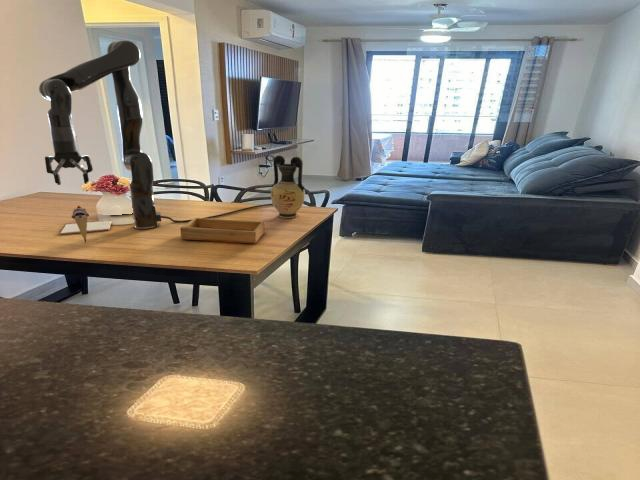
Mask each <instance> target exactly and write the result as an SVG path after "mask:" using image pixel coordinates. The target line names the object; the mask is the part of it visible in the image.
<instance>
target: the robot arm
mask: <svg viewBox="0 0 640 480" xmlns="http://www.w3.org/2000/svg"><path fill="white" fill-rule="evenodd" d="M106 50H107V51H106V54H104V55H102V56H98V57H95V58H93V59H90V60H87V61H84V62H81V63H79V64H77V65H75V66H73V67H71V68H70V69H67V70H66V71H64V72H62V73H59V74H56V75H53V76H51V77H48V78H46V79H44V80H42V81H41V83H40V84H39V87H38V91H39V94H40V95H41V97H42V98H44V99H46V100H47V101H49V102H50V108H49V109H48V110H47V118H48V123H49V129H50V130H49V131H50V137H51V141H52V142H51V143H52V147H53V152H54V156H51V155H47V156H45V157H44V162H45V169H46V173H47V174H51V175H53V178H54V179H53V180H54V183H55V184H57V186H60V185H62V182H61V176H60V173H59V172H60V171H61V170H62V169H63V168H64V169H69V168H71V169H74V168H76V169H78V170H79V171H80V172H82V177H83V183H84V184H85V185H87V184H88V183H89V181H90V178H89V173H92V172H93V170H94V169H93V164H92V160H91V156H90V155H89V154H87V155H81V154H80V151H79V150H80V149H79V144H78V136H77V134H76V130H75V126H74V122H73V116H72V110H73V109H72V108H73V107H72V106H73V94H72V93H73V92H78V91H81V90H83V89H85V88H87V87H89V86H91V85H93V84H94V83H96V82H98V81H100V80H101V79H103V78H106V77H107V76H109V75H112V81H113V87H114V93H115V99H116V100H115V101H116V110H117V117H118V122H119V130H120V135H121V136H120V137H121V144H122V145H121V149H122V155H121V156H122V163H123V166H124V168H125V169H126V170H127V171H129V172H130V175H131V181H130V182H129V183H128V187H129V194H130V199H131V201H130V202H132V208H133V214H132V220H133V221H134V223H133V224H134V229H137V230H149V229H154V228H158V227H159V226H158V222H162V219H167V220H170V221H171V222H174V223H188V222H190V221H191V220H193V219H194V218H193V219H192V218H191V219H186V220H185V219H183V220H177V219H173V218H172V217H170V216H165V215H161V212H157V211H156V209H157V208H156V203H155V196H154V195H155V194H154V185H153V184H154V180H155V179H154V178H155V177H154V165H153V161H152V158H151V156H150V155H149V154H147V152H143V151H142V147H141V141H140V140H141V132H142V127H143V122H144V113H143V105H142V100H141V98H140V96H139V94H138V92H137V90H136V89H135V87H134V85H133V82H132V79H131V70H130V67H134V66H136V65H138V64H139V62H140V61H141V58H142V57H141V54H142V53H141V50H140V48H139V47H138V45H137V44H136V43H135V42H133V41H131V40H127V39H123V40H122V39H121V40H115V41H112V42H110V43H109V44H108V46H107V49H106ZM82 160H83V162H86V167H87V168H86V167H85V166H84V165H82V163H81V161H82ZM54 161H55V162H56V163H57V166H56V167H55V169H53V167H52V163H53V162H54ZM267 206H274V205H273V203H272V202H271V203H265V204H264V203H263V204H258V205H253V206H252V205H251V206H248V207H244V208H240V209H236V210H231V211H228V212H225V213H220V214H215V215H211V216H204V218H207V219H215V218H218V217H222V216H227V215H231V214H234V213H238V212H241V211H242V212H243V211H245V210H250V209H255V208H260V207H261V208H262V207H267Z"/></svg>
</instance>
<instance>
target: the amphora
mask: <svg viewBox="0 0 640 480" xmlns="http://www.w3.org/2000/svg"><path fill="white" fill-rule="evenodd" d="M272 162H273V164H272V165H273V172H274V175H273V176H274V179H273V180H274V181H273V184H271V189H270V200H271V204H272V203H273V205H272V206H273V207H274V209H276V211H278V217H280V218H281V219H294V218H296V217H298V214H297V212H298V211H299V210H300V209H301V208H302V207H303V205H304V203H305V197H306V192H305V191H306V190H305V186H304V184H303V170H304V169H303V168H304V167H303V165H304V164H303V163H304V161H303V160H302V158H301V157H300V156H293V157H292V158H291V159H290V162H289V163H286V159H285V157H284V156H283V155H280V154H279V155H276V156H274V157H273V161H272ZM297 168H298V171H297ZM296 171H297V182H296V181H295V173H296ZM279 172H280V173H281V177H280V181H279Z"/></svg>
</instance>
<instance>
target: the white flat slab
mask: <svg viewBox="0 0 640 480" xmlns="http://www.w3.org/2000/svg"><path fill="white" fill-rule="evenodd" d="M111 224H112V221H104V220H94V221H93V220H92V221H87V233H95V232H98V233H99V232H109V231H110V228H111ZM74 234H81V232H80V230H79V228H78V225H77V223H76V222H69V223H65V226H63V229H62V230H61V231H60V232H59V235H60V236H63V235H64V236H65V235H74Z"/></svg>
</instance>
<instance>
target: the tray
mask: <svg viewBox="0 0 640 480" xmlns="http://www.w3.org/2000/svg"><path fill="white" fill-rule="evenodd" d="M190 220H191V219H190ZM179 228H180V229H179V230H180V239H181V240H191V241H192V240H193V241H208V242H209V241H210V242H222V243H223V242H225V243H239V244H254V245H255V244H257V242H258V241H259V240H260V239H261V237H262V236H263V235H264V234H265V221H257V220H239V219H238V220H237V219H222V218H209V219H207V218H205V217H194V218H193V220H191V221H190V222H186V223H185V224H183V225H182V226H180V227H179Z"/></svg>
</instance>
